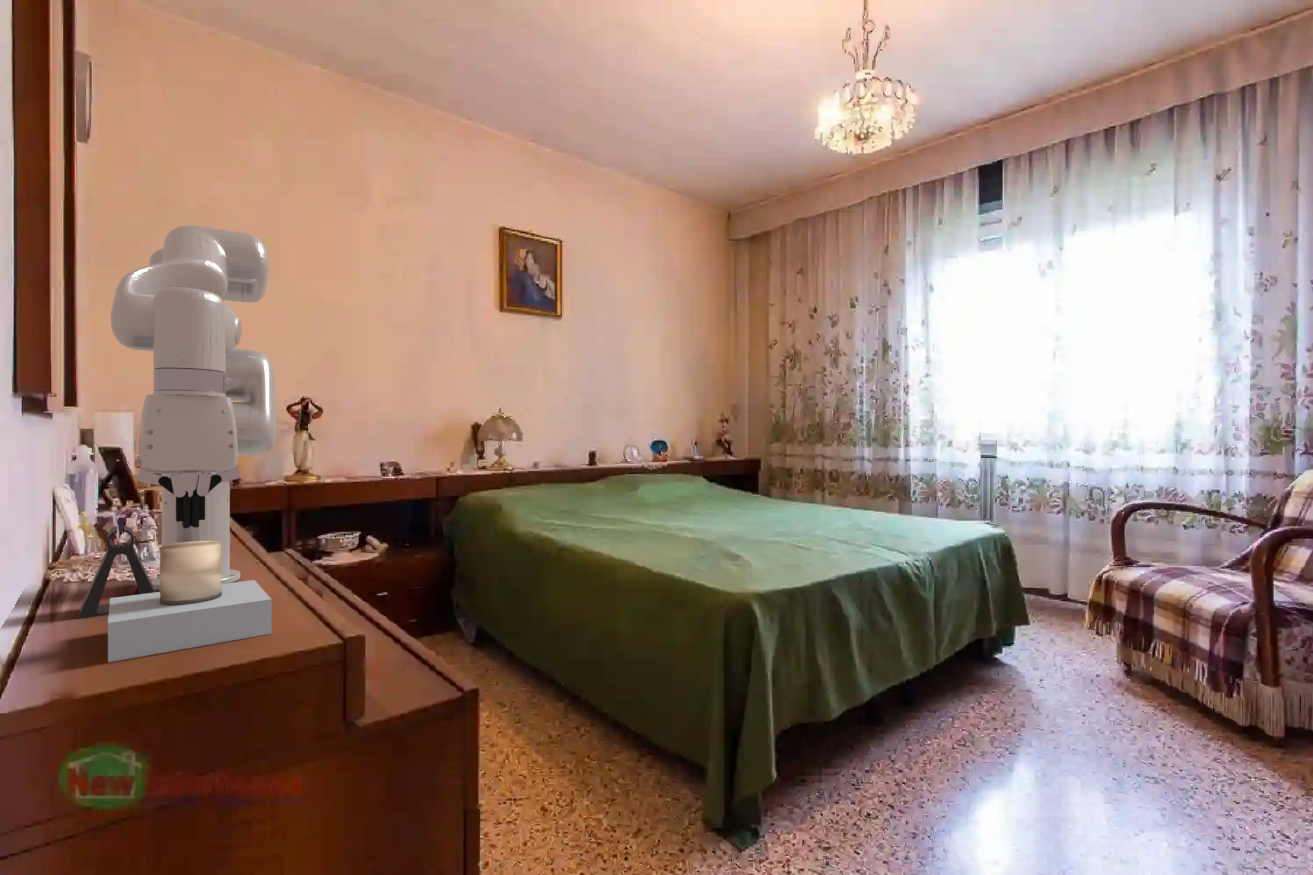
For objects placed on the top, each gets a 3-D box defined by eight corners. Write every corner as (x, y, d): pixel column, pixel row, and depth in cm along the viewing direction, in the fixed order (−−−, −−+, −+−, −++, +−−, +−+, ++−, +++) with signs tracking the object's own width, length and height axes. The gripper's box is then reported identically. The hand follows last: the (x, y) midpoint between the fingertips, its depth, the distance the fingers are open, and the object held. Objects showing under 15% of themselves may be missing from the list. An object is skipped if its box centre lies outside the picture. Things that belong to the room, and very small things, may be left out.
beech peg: (158, 628, 82) (158, 544, 82) (218, 618, 86) (218, 538, 86) (160, 640, 77) (160, 551, 77) (224, 630, 81) (224, 545, 81)
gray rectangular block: (110, 632, 82) (110, 598, 82) (254, 610, 92) (254, 579, 92) (108, 662, 71) (107, 622, 71) (271, 633, 81) (271, 599, 81)
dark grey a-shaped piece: (78, 618, 88) (78, 533, 88) (80, 609, 92) (80, 528, 92) (160, 607, 94) (160, 527, 94) (158, 599, 98) (158, 523, 98)
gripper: (253, 390, 89) (253, 519, 89) (114, 384, 79) (114, 529, 79) (262, 386, 83) (262, 524, 83) (113, 380, 74) (114, 536, 74)
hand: (190, 526), depth 81 cm, fingers closed
